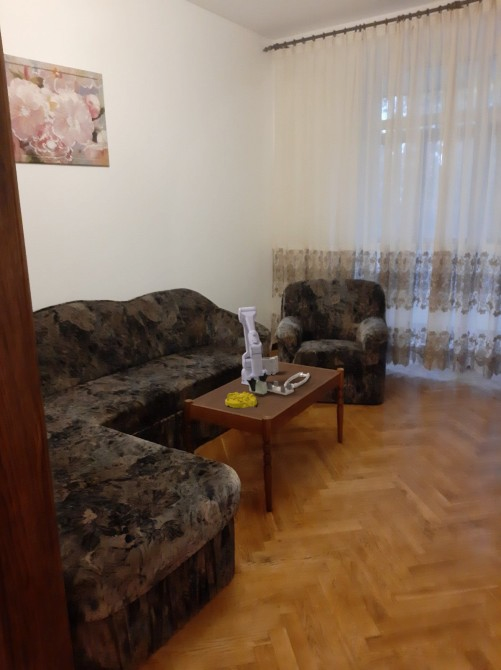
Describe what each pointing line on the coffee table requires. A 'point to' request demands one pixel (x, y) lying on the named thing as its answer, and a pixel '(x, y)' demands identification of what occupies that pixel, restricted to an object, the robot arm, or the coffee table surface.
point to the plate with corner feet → (279, 388)
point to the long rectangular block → (260, 387)
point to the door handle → (296, 377)
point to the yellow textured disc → (240, 400)
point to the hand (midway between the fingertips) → (258, 389)
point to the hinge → (270, 365)
